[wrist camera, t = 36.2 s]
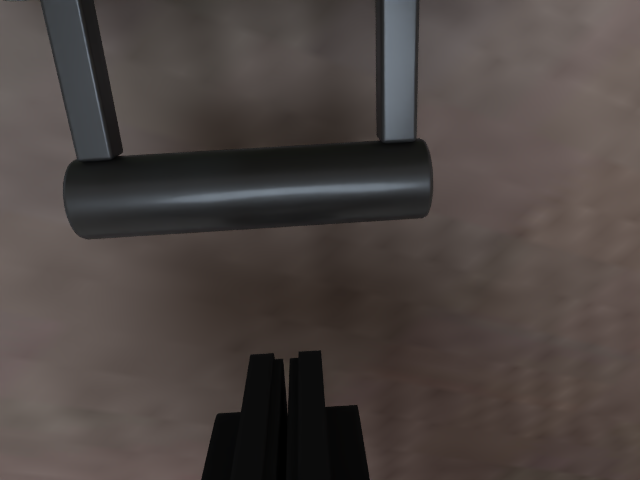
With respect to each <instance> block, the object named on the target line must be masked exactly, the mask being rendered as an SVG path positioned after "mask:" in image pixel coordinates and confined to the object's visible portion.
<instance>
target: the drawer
mask: <svg viewBox="0 0 640 480" xmlns="http://www.w3.org/2000/svg"><path fill="white" fill-rule="evenodd" d="M5 1H27V0H5ZM40 1H41V6H42V10H43V14H44V19H45V23H46V27H47V32H48V36H49V40H50V44H51V49H52V53H53V57H54V62H55V66H56V70H57V75H58V79H59V83H60V88H61V92H62V96H63V100H64V105H65V109H66V113H67V118H68V122H69V126H70V131H71V135H72V139H73V144H74V148H75V152H76V156H77V159H76V160H74V161H72V162H71V163H70V164H69V166H68V167H67V170H66V172H65V176H64V182H63V199H64V206H65V211H66V215H67V218H68V220H69V223H70V225H71V227H72V229H73V230H74V232H75V233H76V234H77V235H78V236H80V237H82V238H84V239H101V238H117V237H133V236H149V235H165V234H181V233H196V232H212V231H228V230H244V229H260V228H276V227H291V226H307V225H323V224H339V223H355V222H371V221H386V220H402V219H418V218H424V217H426V216H427V215H428V213H429V210H430V207H431V202H432V195H433V170H432V162H431V157H430V152H429V149H428V146H427V144H426V142H425V141H424V140H423V139H420V138H416V137H417V90H418V42H419V0H375V8H376V122H377V137H378V138H379V140H380V141H365V142H348V143H331V144H314V145H298V146H281V147H264V148H247V149H230V150H213V151H196V152H180V153H163V154H146V155H129V156H118V155H120V154H121V153H122V152H123V148H122V142H121V137H120V132H119V127H118V122H117V117H116V112H115V107H114V102H113V97H112V92H111V86H110V81H109V76H108V71H107V66H106V61H105V56H104V51H103V46H102V41H101V36H100V31H99V25H98V20H97V15H96V10H95V5H94V0H40Z"/></svg>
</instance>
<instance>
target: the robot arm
mask: <svg viewBox="0 0 640 480" xmlns="http://www.w3.org/2000/svg"><path fill="white" fill-rule="evenodd" d="M201 480H370V478H369V472H368V466H367V460H366V454H365V447H364V441H363V435H362V429H361V423H360V417H359V411H358V406H357V405H350V406H333V407H325V399H324V385H323V371H322V357H321V350H319V351H302V352H299V354H298V358H290V367H289V398H288V413H287V400H286V388H285V376H284V364H283V359H275V357H274V353H268V354H251V355H250V360H249V366H248V372H247V378H246V384H245V391H244V397H243V403H242V409H241V412H235V413H219V414H217V416H216V418H215V422H214V426H213V431H212V435H211V439H210V444H209V448H208V453H207V457H206V461H205V466H204V470H203V474H202V479H201Z"/></svg>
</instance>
